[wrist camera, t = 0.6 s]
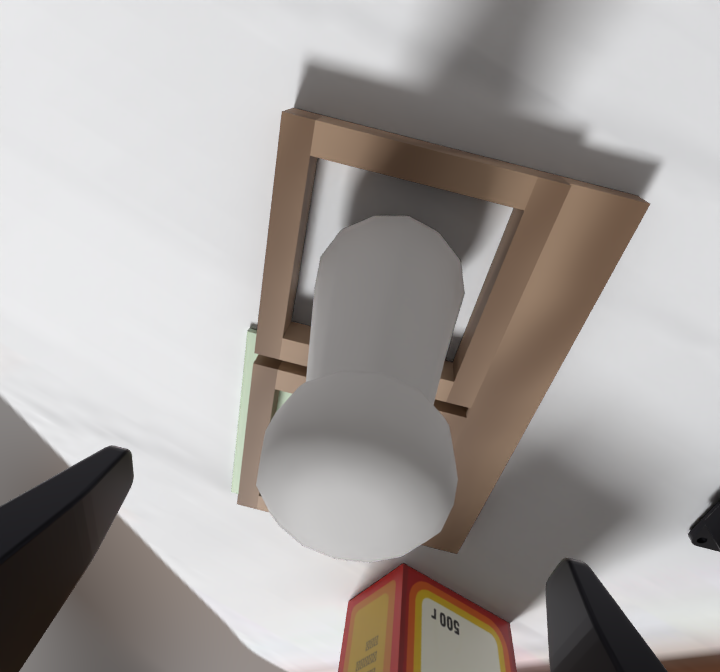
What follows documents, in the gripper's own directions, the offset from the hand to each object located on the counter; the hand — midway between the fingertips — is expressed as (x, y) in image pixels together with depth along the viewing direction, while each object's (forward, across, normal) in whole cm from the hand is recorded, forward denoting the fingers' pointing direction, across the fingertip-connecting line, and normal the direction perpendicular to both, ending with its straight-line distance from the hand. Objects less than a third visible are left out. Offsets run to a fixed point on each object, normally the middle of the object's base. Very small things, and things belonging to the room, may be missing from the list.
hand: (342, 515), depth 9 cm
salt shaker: (+13, 0, 0) cm, 13 cm away
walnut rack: (+13, -1, +5) cm, 14 cm away
